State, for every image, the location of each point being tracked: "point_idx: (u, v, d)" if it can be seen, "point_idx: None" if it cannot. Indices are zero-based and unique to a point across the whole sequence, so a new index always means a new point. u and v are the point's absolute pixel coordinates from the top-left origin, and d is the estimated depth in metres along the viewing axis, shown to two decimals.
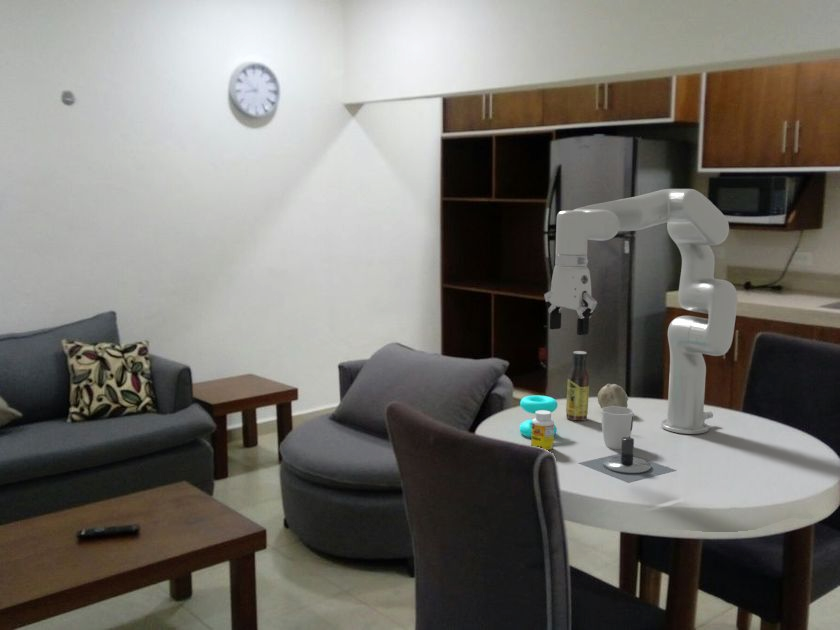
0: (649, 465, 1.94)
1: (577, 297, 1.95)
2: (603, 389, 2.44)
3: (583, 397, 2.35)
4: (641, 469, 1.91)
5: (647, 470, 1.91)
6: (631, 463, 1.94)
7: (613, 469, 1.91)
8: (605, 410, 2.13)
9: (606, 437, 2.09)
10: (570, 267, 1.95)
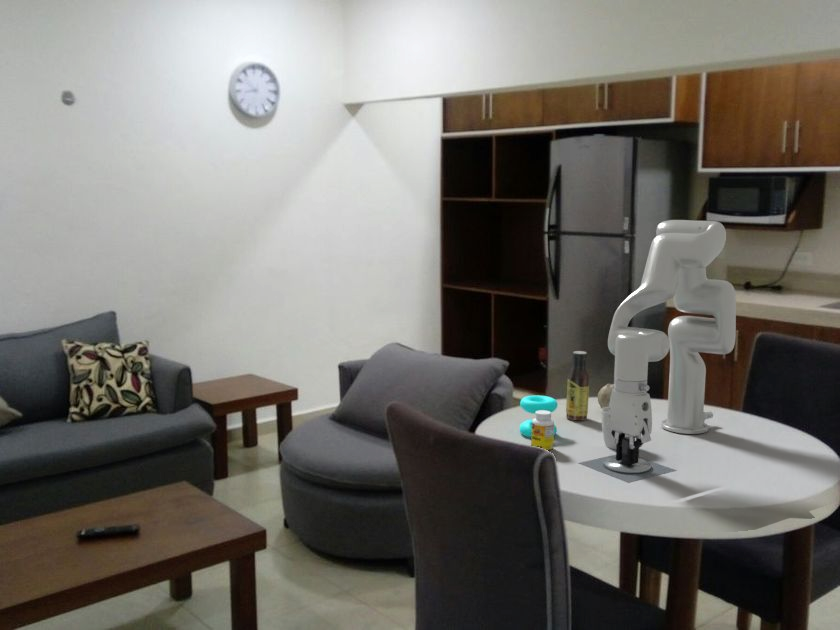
0: (649, 465, 1.94)
1: (638, 425, 1.89)
2: (603, 389, 2.44)
3: (583, 397, 2.35)
4: (641, 469, 1.91)
5: (647, 470, 1.91)
6: None
7: (613, 469, 1.91)
8: (605, 410, 2.13)
9: (606, 437, 2.09)
10: (630, 394, 1.89)
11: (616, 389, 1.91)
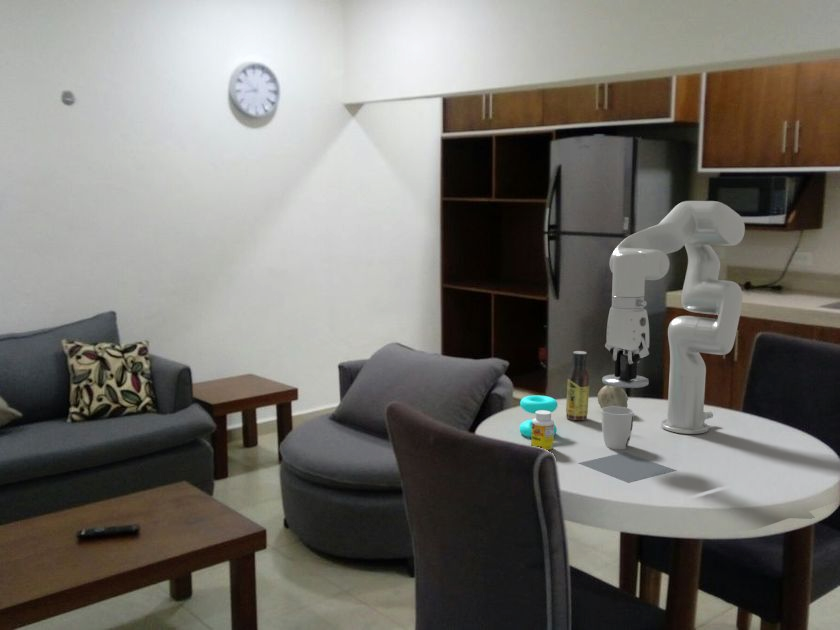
0: (647, 380, 1.99)
1: (636, 339, 1.94)
2: (603, 389, 2.44)
3: (583, 397, 2.35)
4: (640, 383, 1.96)
5: (645, 384, 1.97)
6: None
7: (613, 384, 1.97)
8: (605, 410, 2.13)
9: (606, 437, 2.09)
10: (628, 309, 1.94)
11: (614, 306, 1.96)
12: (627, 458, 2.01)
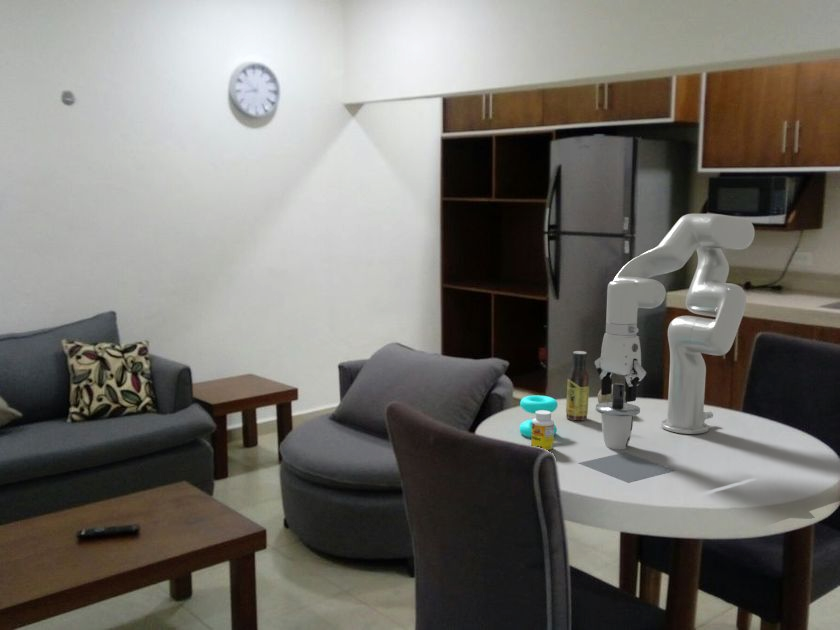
0: (638, 408, 2.08)
1: (628, 365, 2.03)
2: None
3: (583, 397, 2.35)
4: (631, 411, 2.05)
5: (637, 412, 2.06)
6: (622, 407, 2.09)
7: (605, 412, 2.06)
8: None
9: (606, 437, 2.09)
10: (621, 336, 2.03)
11: (608, 332, 2.06)
12: (627, 458, 2.01)
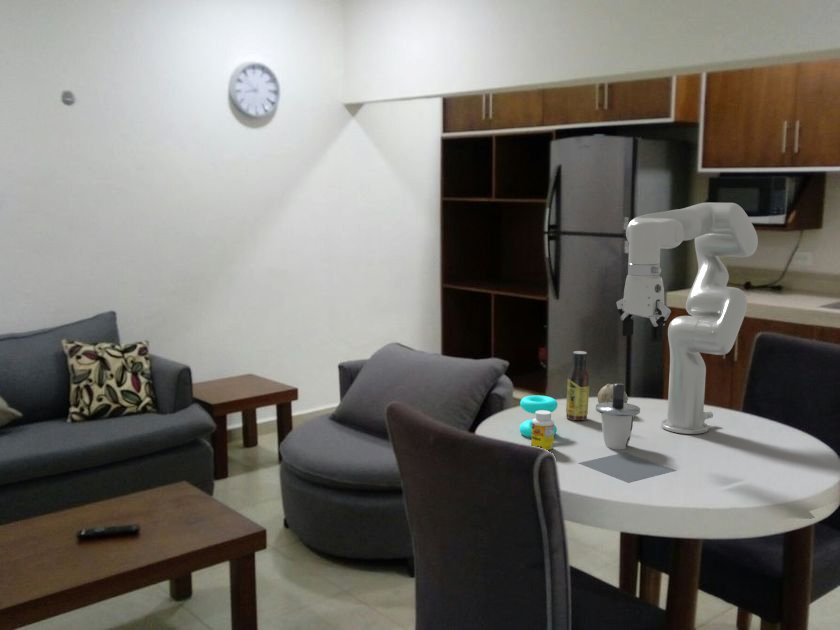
0: (638, 408, 2.08)
1: (651, 306, 2.00)
2: (603, 389, 2.44)
3: (583, 397, 2.35)
4: (631, 411, 2.05)
5: (637, 412, 2.06)
6: (622, 407, 2.09)
7: (605, 412, 2.06)
8: None
9: (606, 437, 2.09)
10: (643, 276, 2.00)
11: (630, 273, 2.03)
12: (627, 458, 2.01)
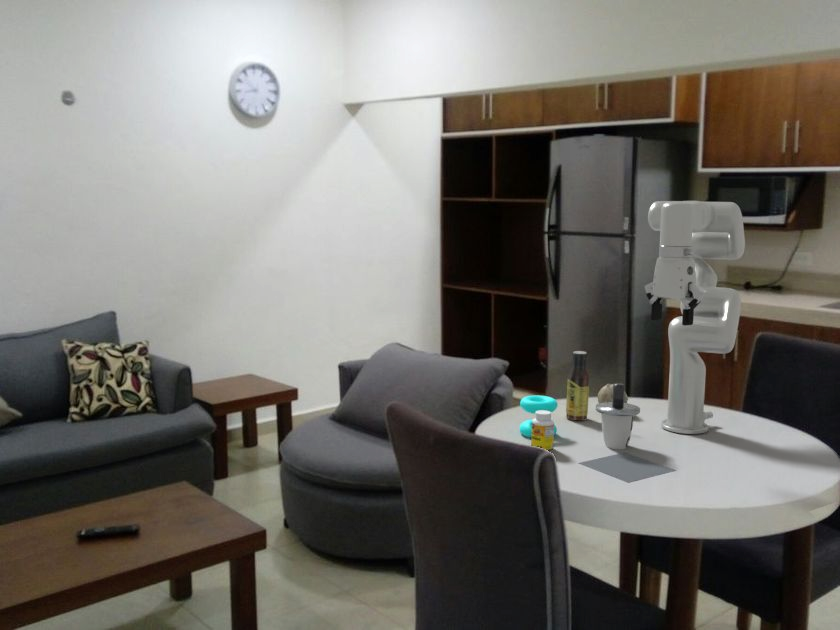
0: (638, 408, 2.08)
1: (683, 288, 1.97)
2: (603, 389, 2.44)
3: (583, 397, 2.35)
4: (631, 411, 2.06)
5: (637, 412, 2.06)
6: (622, 407, 2.09)
7: (605, 412, 2.06)
8: None
9: (606, 437, 2.09)
10: (676, 258, 1.97)
11: (662, 255, 2.00)
12: (627, 458, 2.01)
